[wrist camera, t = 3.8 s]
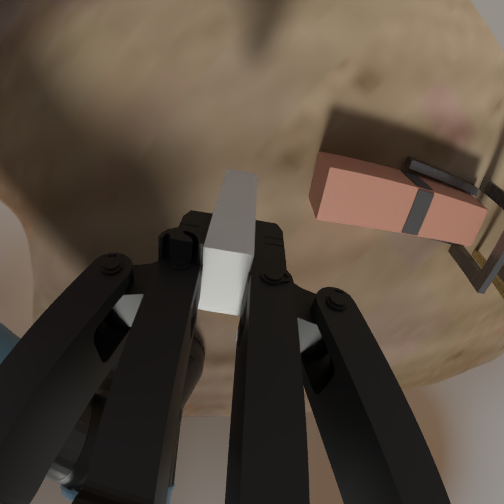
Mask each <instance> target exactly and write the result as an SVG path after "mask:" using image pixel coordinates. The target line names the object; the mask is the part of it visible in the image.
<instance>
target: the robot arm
mask: <svg viewBox="0 0 504 504" xmlns="http://www.w3.org/2000/svg"><path fill="white" fill-rule="evenodd" d="M256 190H257V174H256V173H250V172H244V171H238V170H232V169H226V172H225V176H224V179H223V182H222V185H221V188H220V192H219V195H218V198H217V202H216V205H215V208H214V212H213V214H211V213H205V212H198V211H192V210H191V211H190V212H188V213H187V214H185V215H184V216H183V218H182V220H181V222H180V225H179V227H178V228H172V229H168V230H166V231H164V232H162V233H161V234H160V235H159V237H158V251H159V259H158V261H157V262H155V263H152V264H146V265H132V262H131V260H130V258H128V257H127V256H125V255H123V254H119V253H109V254H105V255H102V256H100V257H99V258H97V259H96V260H95V261H94V262H93V263H92V264H91V265H90V266H89V267H88V268H87V269H86V270H84V271H83V272H82V273H81V274H80V275H79V276H78V277H77V278H76V279H75V280H74V281H73V282H72V283H71V284H70V285H69V286H68V287H67V289H66V290H65V291H64V292H63V293H62V294H61V295H60V296H59V297H58V298H57V299H56V300H55V301H54V302H53V303H52V304H51V305H50V306H49V307H48V309H47V310H46V311H45V312H44V313H43V314H42V315H41V316H40V317H39V319H38V320H37V321H36V322H35V323H34V324H33V325H32V326H31V328H30V329H29V330H28V331H27V332H26V334H25V335H24V336H23V337H22V338H21V339H20V338H19V337H18V336H17V335H15V334H14V333H13V332H12V331H11V330H9V329H8V328H7V327H6V326H4V325H3V324H2V323H0V504H29V503H30V502H31V501H32V499H33V497H34V496H35V494H36V493H37V491H38V489H39V487H40V485H41V484H42V482H43V480H44V478H45V477H46V478H48V479H50V480H52V481H55V482H57V483H59V484H61V486H60V488H61V490H62V494H63V496H64V497H65V498H67V499H69V500H70V501H72V504H170V500H171V494H172V490H173V489H174V485H175V484H174V478H175V469H176V460H177V450H178V442H179V434H180V426H181V418H182V412H183V408H184V406H185V404H186V402H187V400H188V399H189V397H190V395H191V393H192V391H193V390H194V388H195V386H196V384H197V382H198V381H199V379H200V377H201V375H202V372H203V365H204V351H203V349H202V347H201V345H200V343H199V342H198V341H197V340H196V339H195V337H194V336H193V335H194V330H195V325H196V317H197V309H201V310H206V311H213V312H219V313H225V314H232V315H238V316H240V313H241V317H240V322H239V326H238V330H237V334H236V338H235V341H237V347H236V359H235V372H234V385H233V398H232V411H231V424H230V439H229V452H228V466H227V480H226V494H225V504H310V503H309V474H308V473H309V472H308V451H307V432H306V417H305V401H304V388H305V391H306V394H307V397H308V400H309V403H310V406H311V408H312V411H313V414H314V417H315V420H316V423H317V426H318V429H319V431H320V435H321V437H322V440H323V443H324V446H325V449H326V452H327V455H328V458H329V461H330V464H331V467H332V469H333V472H334V476H335V479H336V482H337V484H338V487H339V490H340V493H341V496H342V499H343V502H344V504H450V500H449V498H448V495H447V492H446V490H445V487H444V485H443V482H442V480H441V477H440V474H439V472H438V469H437V467H436V464H435V462H434V460H433V457H432V455H431V453H430V450H429V448H428V446H427V444H426V441H425V439H424V436H423V434H422V432H421V430H420V428H419V425H418V423H417V421H416V419H415V417H414V415H413V412H412V410H411V408H410V406H409V404H408V402H407V400H406V398H405V396H404V394H403V392H402V390H401V388H400V386H399V384H398V382H397V380H396V378H395V376H394V374H393V372H392V370H391V368H390V366H389V364H388V362H387V360H386V358H385V356H384V354H383V352H382V351H381V349H380V347H379V345H378V343H377V341H376V339H375V338H374V336H373V334H372V332H371V330H370V328H369V327H368V325H367V323H366V321H365V319H364V318H363V316H362V314H361V312H360V310H359V309H358V307H357V305H356V303H355V302H354V300H353V299H352V298H351V296H350V295H349V294H347V293H346V292H344V291H343V290H340V289H338V288H334V287H326V288H322V289H321V290H319V291H318V292H317V294H315V293H312V292H310V291H307V290H305V289H303V288H300V287H299V286H297V285H296V284H294V282H293V278H292V276H291V274H290V273H289V272H288V271H287V269H286V259H285V249H284V241H283V231H282V230H281V229H280V227H279V226H278V225H277V224H275V223H269V222H264V221H258V220H255V219H256ZM303 385H304V387H303Z"/></svg>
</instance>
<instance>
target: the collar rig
mask: <svg viewBox="0 0 504 504" xmlns="http://www.w3.org/2000/svg"><path fill="white" fill-rule="evenodd" d="M405 165H406V166H407V167H408V168H409V169H412V170H415V171H417V172H420V173H423V174H425V175H428V176H430V177H433V178H435V179H438V180H440V181H443V182H445V183H447V184H450V185H452V186H454V187H457V188H459V189H461V190H464V191H466V192H468V193H470V194H472V195H474V196H476V195H477V193H478V190H479V189H478V188H477V187H476V186H474V185H472V184H470V183H468V182H466V181H464V180H462V179H460V178H458V177H455V176H453V175H451V174H449V173H447V172H444V171H442V170H440V169H437V168H435V167H433V166H430V165H428V164H426V163H423V162H421V161H418V160H416V159H413V158H410V157H408V158H407V161H406V164H405ZM480 190H481V191H482V192H484V193H485V194H486V195H487V196H488V197H490V198H491V199H492V200H493V201H494V202H495V203H497V204H498V205H499V206H500V207H501V208H502V209H503V210H504V191H503V190H502V189H501V188H500V187H498V186H497V185H496V184H494V183H493V182H492V181H490V180H489V179H487V178H485V177H484V179H483V181H482V184H481V186H480ZM429 239H431V238H429ZM433 240H436V239H433ZM437 241H441V240H437ZM441 242H444V243H448V244H452V246H451V248H450V249H449V251H448V252H449V253H450V254H451V256H452V257H453V258H454V260H455V261H456V262H457V264H458V265H459V267H460V268H461V269H462V271H463V272H464V274H465V275H466V276H467V278H468V279H469V281H470V282H471V284H472V285H473V287H474V288H475V290H476V291H477V293H485V291H486V290H487V288H488V287H489V285H490V284H491V282H492V283H493V284H494V286H495V287H496V288H497V290H498V291H499V293H500V294H501V296H502V297H503V299H504V231H503V233H502V235H501V237H500V239H499V240H498V242H497V244H496V246H495V248H494V249H493V251H492V253H491V255H490V256H489V258H488V260H487V261H486V259H485V258H484V257H483V256H482V254H481V253H480V252H479V251H478V250H474V252H473V253H472V256H473V257H474V259H475V260H476V261H477V262H476V261H475V260H474V259H473V257H472V256H471V255H470V254H469V252H468V251H467V250H466V249H465V247H464V246H463V245H461V244H456V243H451V242H446V241H441ZM477 263H478V264H479V265H480V266H479V265H478V264H477ZM480 267H481V268H482V269H481V268H480Z"/></svg>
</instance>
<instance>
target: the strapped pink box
mask: <svg viewBox="0 0 504 504" xmlns="http://www.w3.org/2000/svg"><path fill="white" fill-rule="evenodd" d="M309 200H310V203H311V206H312V208H313V211H314V214H315V217H316V220H323V221H330V222H337V223H343V224H350V225H356V226H362V227H368V228H374V229H380V230H386V231H392V232H398V233H404V234H409V235H415V236H420V237H425V238H431V239H436V240H441V241H446V242H451V243H456V244H461V245H466V246H471V245H472V243H473V242H474V240H475V238H476V236H477V234H478V231H479V229H480V227H481V225H482V223H483V221H484V219H485V217H486V214H487V212H488V209H487V208H486V207H484V206H483V205H482V204H481V203H480V202H479V201H478V200H477V199H475V198H474V197H473V196H472V195H471V194H470V193H468V192H466V191H464V190H461V189H459V188H456V187H453V186H450V185H447V184H444V183H441V182H438V181H435V180H432V179H429V178H426V177H423V176H419V175H416V174H413V173H410V172H406V171H403V170H398V169H395V168H391V167H387V166H383V165H380V164H376V163H372V162H367V161H363V160H359V159H355V158H350V157H346V156H341V155H336V154H331V153H326V152H321V151H319V153H318V158H317V162H316V167H315V171H314V176H313V180H312V184H311V188H310V193H309Z"/></svg>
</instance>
